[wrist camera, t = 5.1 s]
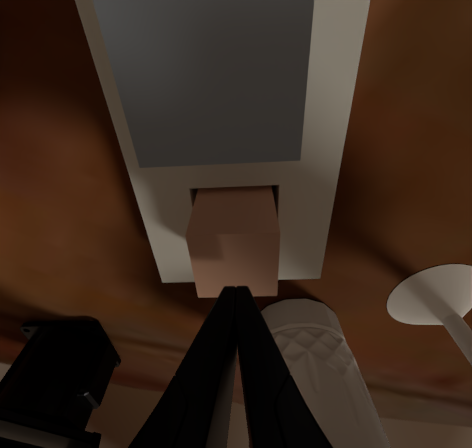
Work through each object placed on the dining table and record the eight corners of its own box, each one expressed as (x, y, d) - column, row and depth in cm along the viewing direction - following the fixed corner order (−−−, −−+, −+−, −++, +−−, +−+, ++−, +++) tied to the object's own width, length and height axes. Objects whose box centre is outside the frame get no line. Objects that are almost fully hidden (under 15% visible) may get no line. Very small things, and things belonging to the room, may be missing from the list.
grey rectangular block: (181, 111, 10) (139, 167, 6) (161, -12, 8) (76, -59, 4) (275, 106, 10) (300, 160, 6) (279, -21, 8) (321, -80, 4)
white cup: (225, 322, 22) (216, 494, 14) (305, 275, 19) (356, 464, 10) (285, 359, 25) (306, 516, 17) (362, 326, 22) (434, 499, 14)
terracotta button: (209, 228, 16) (198, 297, 12) (201, 175, 14) (185, 235, 10) (267, 226, 16) (277, 295, 11) (268, 172, 14) (280, 232, 10)
